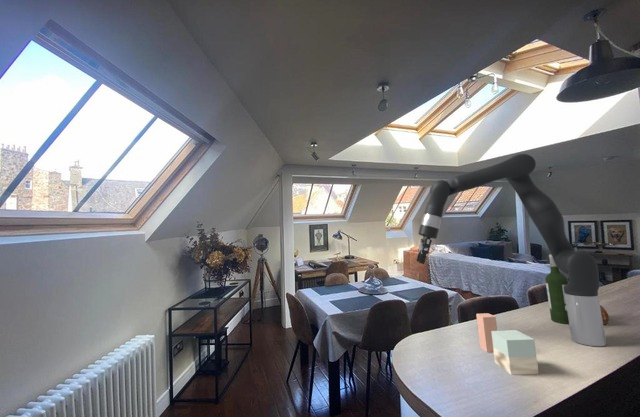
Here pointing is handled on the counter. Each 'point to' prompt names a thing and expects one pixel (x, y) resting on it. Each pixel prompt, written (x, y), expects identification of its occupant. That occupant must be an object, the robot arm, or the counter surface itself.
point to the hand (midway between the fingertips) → (420, 262)
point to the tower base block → (516, 364)
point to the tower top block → (513, 343)
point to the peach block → (486, 330)
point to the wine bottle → (556, 294)
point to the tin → (604, 315)
